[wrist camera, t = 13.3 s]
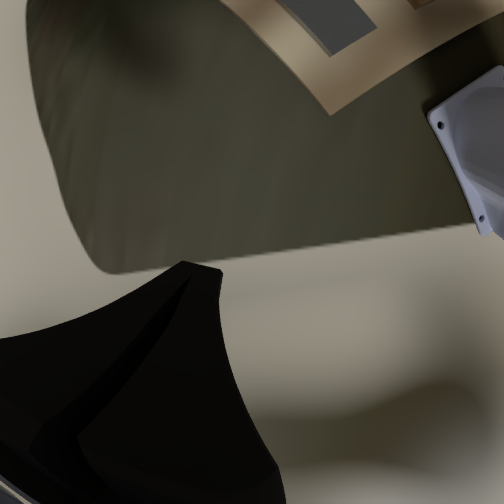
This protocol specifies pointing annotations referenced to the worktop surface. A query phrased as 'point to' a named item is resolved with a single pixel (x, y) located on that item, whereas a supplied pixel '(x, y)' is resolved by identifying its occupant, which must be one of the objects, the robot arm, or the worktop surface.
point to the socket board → (361, 41)
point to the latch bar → (330, 21)
